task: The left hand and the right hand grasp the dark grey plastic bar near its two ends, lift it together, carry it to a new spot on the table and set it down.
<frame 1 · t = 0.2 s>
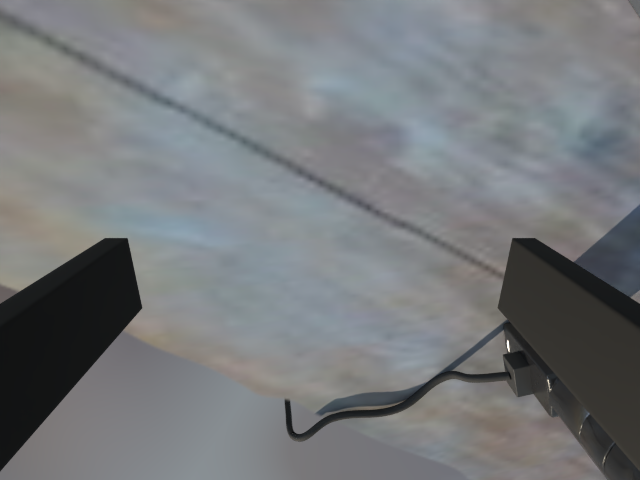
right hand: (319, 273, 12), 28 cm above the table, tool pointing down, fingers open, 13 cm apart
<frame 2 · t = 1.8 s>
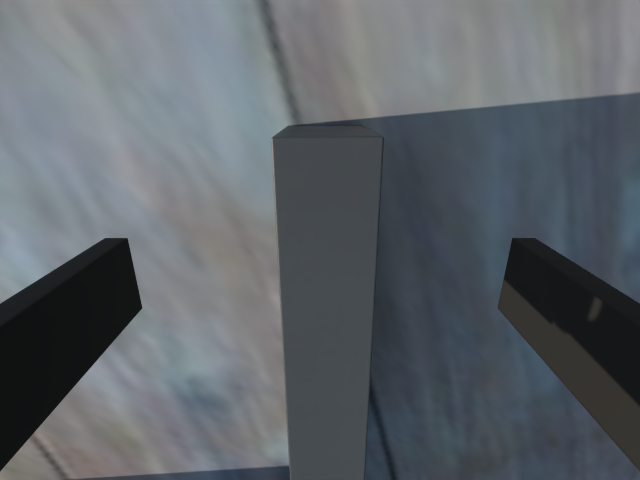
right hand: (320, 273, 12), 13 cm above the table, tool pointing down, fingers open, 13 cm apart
bar: (325, 451, 34), on the table
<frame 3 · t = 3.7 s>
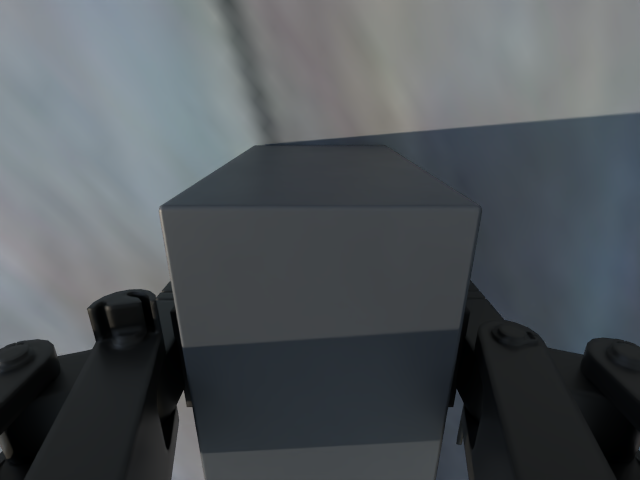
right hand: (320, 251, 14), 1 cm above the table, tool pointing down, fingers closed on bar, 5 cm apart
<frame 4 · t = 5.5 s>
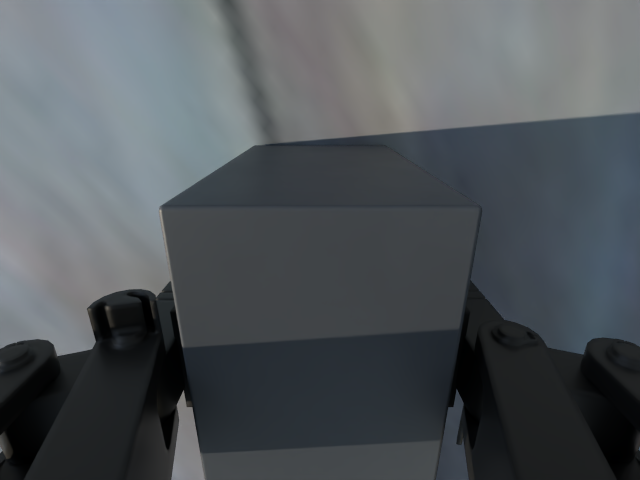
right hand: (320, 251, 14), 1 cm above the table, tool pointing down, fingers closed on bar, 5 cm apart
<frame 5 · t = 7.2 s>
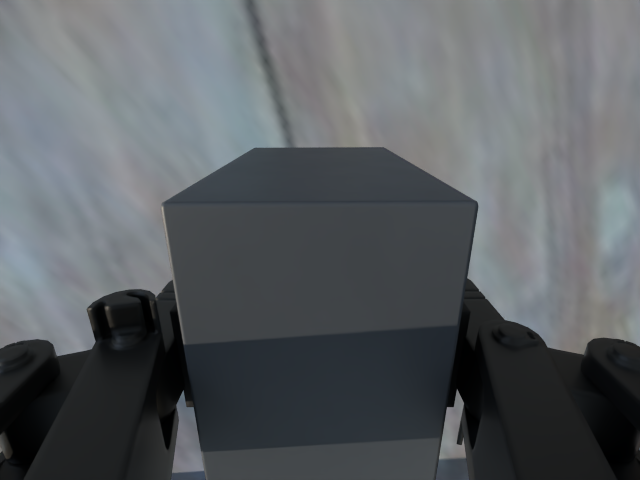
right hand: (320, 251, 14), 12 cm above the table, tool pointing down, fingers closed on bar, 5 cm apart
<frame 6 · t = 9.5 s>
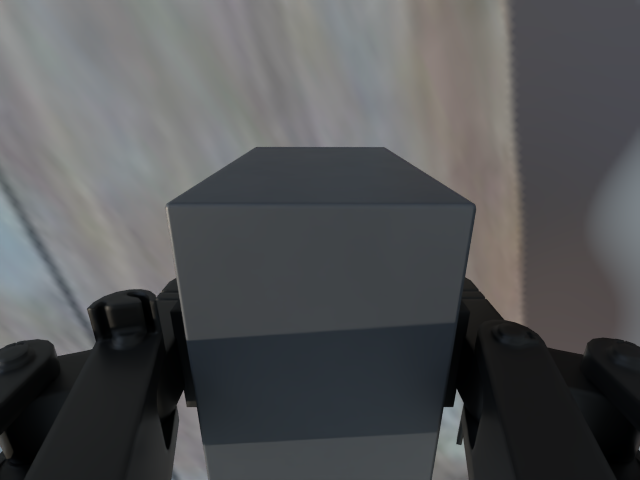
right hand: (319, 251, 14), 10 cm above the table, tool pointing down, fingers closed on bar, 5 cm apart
when the right hand's fingers open (2 cm above the table, at t = 11.0 s): bar stays where it is, on the table.
when the left hand's fingers open (5 cm above the table, at t = 11.2 s): bar stays where it is, on the table.
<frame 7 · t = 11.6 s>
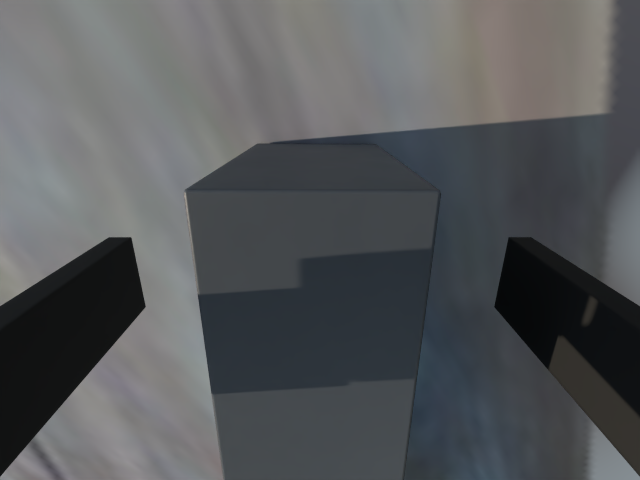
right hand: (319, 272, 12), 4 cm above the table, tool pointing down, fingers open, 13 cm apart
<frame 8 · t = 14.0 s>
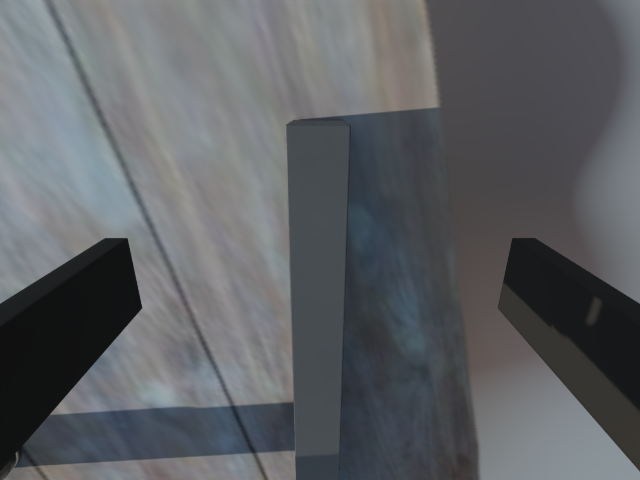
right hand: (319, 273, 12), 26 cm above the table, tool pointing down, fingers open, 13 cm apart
bar: (317, 366, 46), on the table
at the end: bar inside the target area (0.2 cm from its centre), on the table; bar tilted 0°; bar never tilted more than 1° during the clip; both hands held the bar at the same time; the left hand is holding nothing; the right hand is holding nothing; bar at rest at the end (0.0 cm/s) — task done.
